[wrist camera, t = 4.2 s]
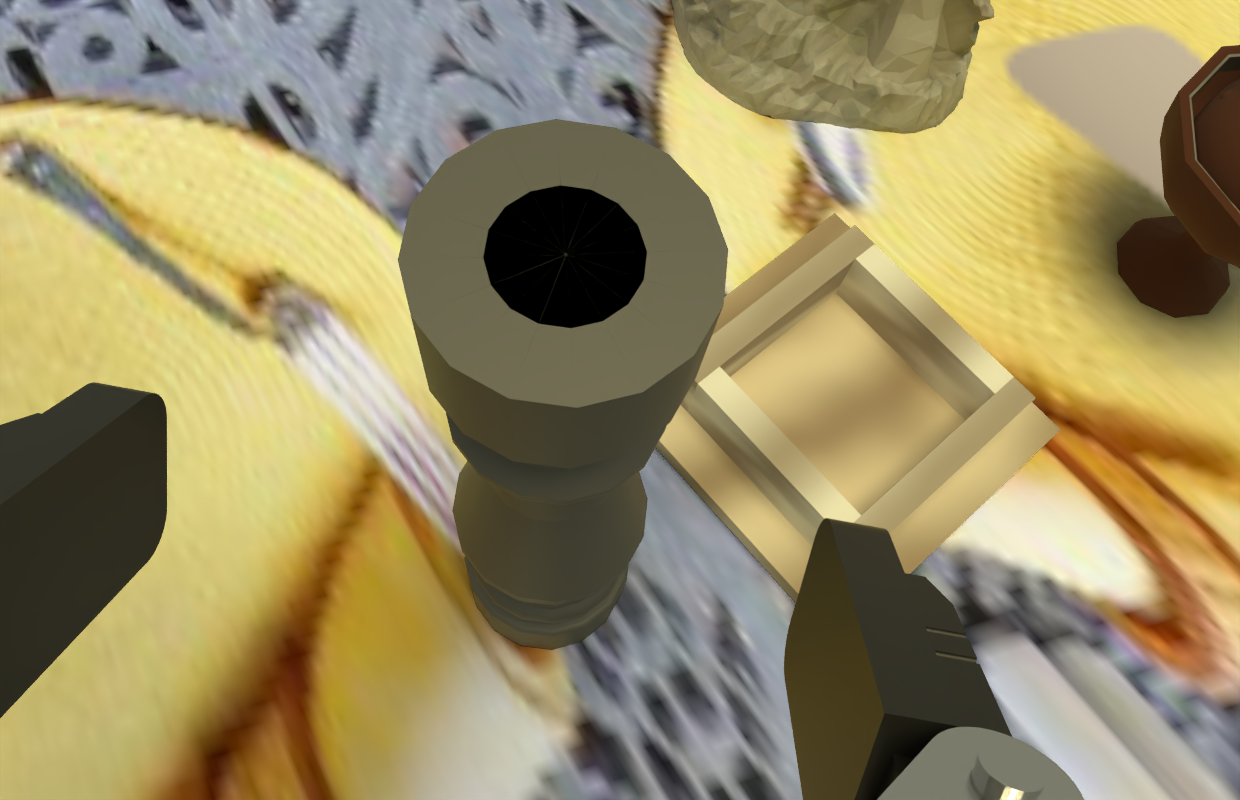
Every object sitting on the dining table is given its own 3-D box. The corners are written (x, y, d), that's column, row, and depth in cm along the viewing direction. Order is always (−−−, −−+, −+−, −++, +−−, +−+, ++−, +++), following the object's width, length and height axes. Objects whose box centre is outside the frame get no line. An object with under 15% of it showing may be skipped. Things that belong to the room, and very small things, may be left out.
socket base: (607, 394, 43) (614, 355, 40) (828, 224, 48) (853, 175, 44) (833, 644, 40) (863, 627, 36) (1049, 437, 44) (1096, 403, 40)
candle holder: (467, 502, 41) (383, 110, 18) (616, 493, 42) (721, 105, 19) (472, 655, 39) (381, 433, 16) (629, 643, 39) (767, 413, 16)
